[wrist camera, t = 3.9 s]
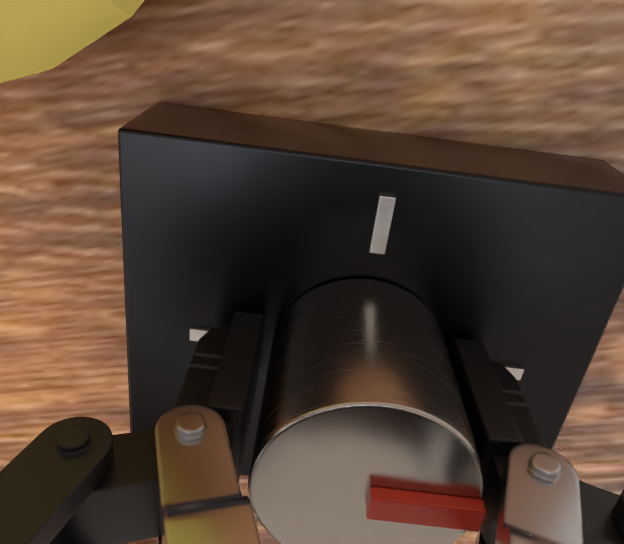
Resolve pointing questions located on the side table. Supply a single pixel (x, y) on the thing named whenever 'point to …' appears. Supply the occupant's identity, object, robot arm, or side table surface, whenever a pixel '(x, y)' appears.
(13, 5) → the vase
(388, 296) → the dial knob
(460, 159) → the dial panel
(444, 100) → the side table surface
